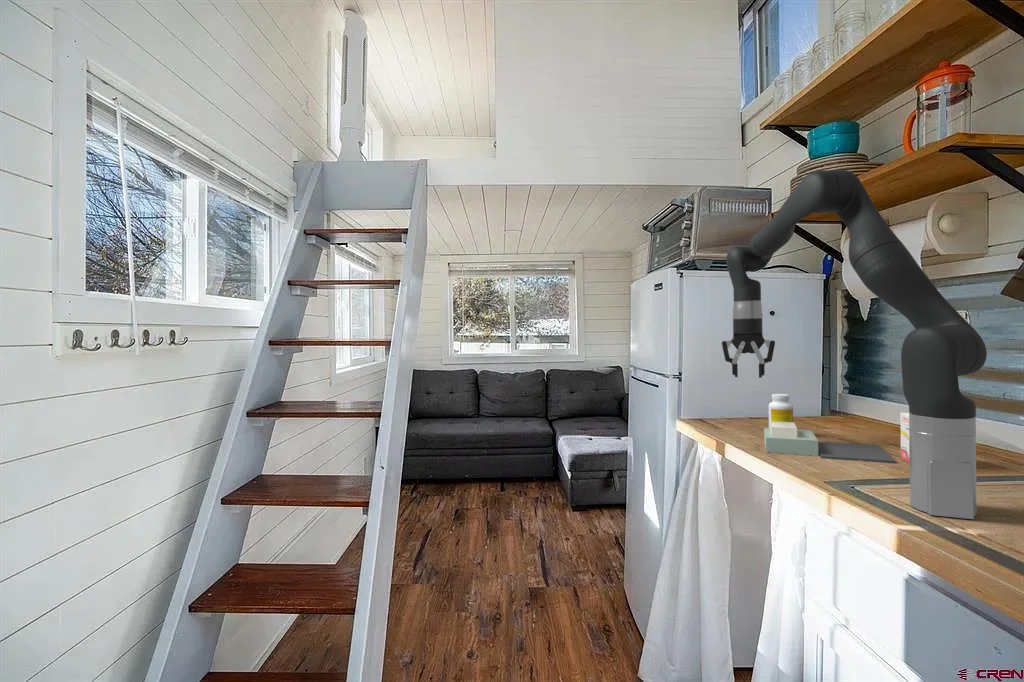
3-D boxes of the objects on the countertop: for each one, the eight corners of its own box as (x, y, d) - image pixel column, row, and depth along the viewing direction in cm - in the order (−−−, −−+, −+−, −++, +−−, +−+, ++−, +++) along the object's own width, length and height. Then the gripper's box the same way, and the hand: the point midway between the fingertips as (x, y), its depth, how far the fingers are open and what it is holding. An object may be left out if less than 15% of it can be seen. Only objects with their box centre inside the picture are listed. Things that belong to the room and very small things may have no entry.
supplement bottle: (797, 439, 151) (796, 396, 151) (773, 438, 152) (772, 396, 152) (788, 434, 158) (787, 393, 157) (765, 434, 159) (765, 393, 158)
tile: (797, 437, 135) (797, 428, 135) (771, 436, 138) (771, 427, 138) (793, 431, 143) (793, 422, 143) (770, 429, 146) (769, 421, 146)
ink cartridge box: (899, 459, 126) (898, 400, 126) (921, 459, 125) (921, 400, 125) (919, 468, 118) (918, 405, 118) (943, 469, 117) (943, 405, 117)
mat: (896, 463, 123) (896, 461, 123) (821, 458, 129) (821, 456, 129) (877, 446, 139) (877, 444, 139) (812, 443, 146) (812, 441, 145)
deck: (818, 456, 131) (818, 440, 131) (766, 452, 136) (766, 437, 136) (811, 444, 144) (811, 430, 144) (764, 441, 149) (763, 428, 149)
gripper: (719, 318, 143) (720, 378, 143) (777, 316, 137) (777, 379, 137) (720, 318, 150) (721, 375, 150) (775, 316, 144) (776, 376, 144)
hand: (748, 376), depth 144 cm, fingers open, 5 cm apart
